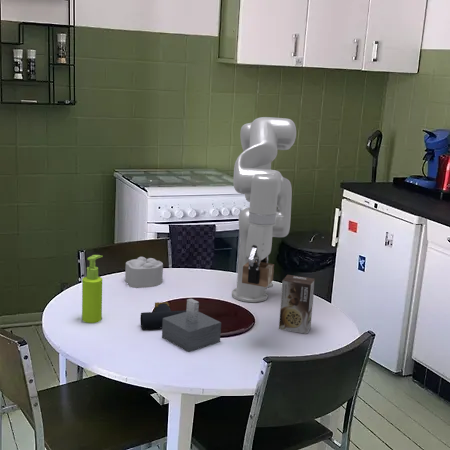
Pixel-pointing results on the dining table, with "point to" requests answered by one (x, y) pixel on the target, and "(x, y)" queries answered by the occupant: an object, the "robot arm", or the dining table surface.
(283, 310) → the brown grey upright box
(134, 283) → the lumpy-topped squat cylinder
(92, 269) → the soap dispenser
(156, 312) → the pipe connector
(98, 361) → the dining table surface
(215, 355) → the dining table surface
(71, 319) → the dining table surface
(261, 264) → the brown small box
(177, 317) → the block
